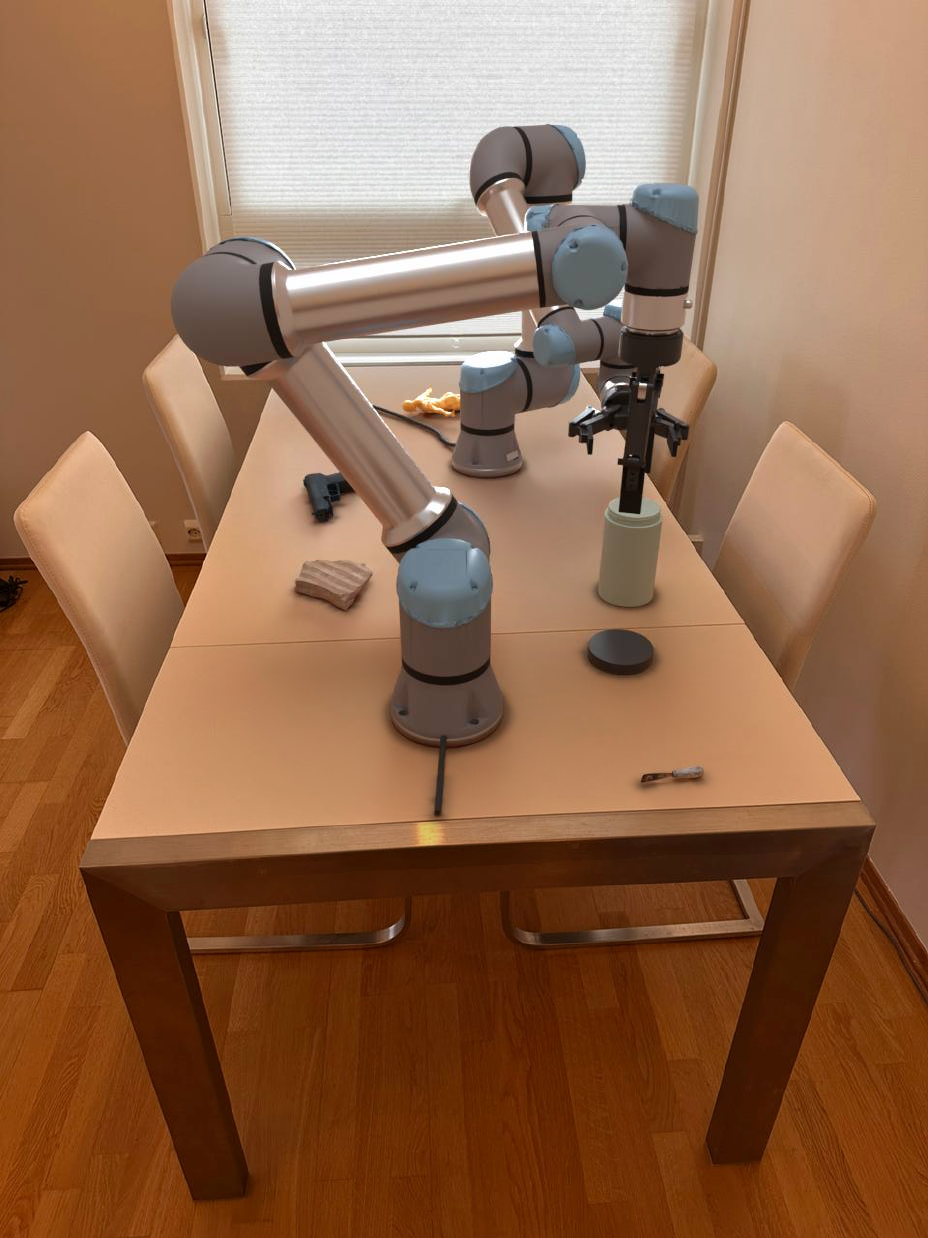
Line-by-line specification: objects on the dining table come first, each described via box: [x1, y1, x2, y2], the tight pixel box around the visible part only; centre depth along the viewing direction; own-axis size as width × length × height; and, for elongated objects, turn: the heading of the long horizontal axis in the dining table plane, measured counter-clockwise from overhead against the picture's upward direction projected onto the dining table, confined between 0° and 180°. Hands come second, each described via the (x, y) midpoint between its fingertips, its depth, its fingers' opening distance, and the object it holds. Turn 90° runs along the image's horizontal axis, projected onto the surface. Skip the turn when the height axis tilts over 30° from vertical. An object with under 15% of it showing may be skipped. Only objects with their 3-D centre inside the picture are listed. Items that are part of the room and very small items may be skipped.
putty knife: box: [640, 765, 705, 784], centre depth 109 cm, size 1×8×2 cm, turn 103°
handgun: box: [302, 471, 355, 523], centre depth 178 cm, size 3×18×12 cm
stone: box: [294, 559, 374, 611], centre depth 149 cm, size 13×12×3 cm
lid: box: [587, 628, 655, 676], centre depth 132 cm, size 10×10×2 cm
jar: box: [597, 496, 664, 608], centre depth 144 cm, size 9×9×16 cm
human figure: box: [402, 385, 460, 418], centre depth 225 cm, size 20×20×4 cm
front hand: (635, 491), depth 118 cm, fingers open, 13 cm apart
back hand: (632, 448), depth 145 cm, fingers open, 13 cm apart
